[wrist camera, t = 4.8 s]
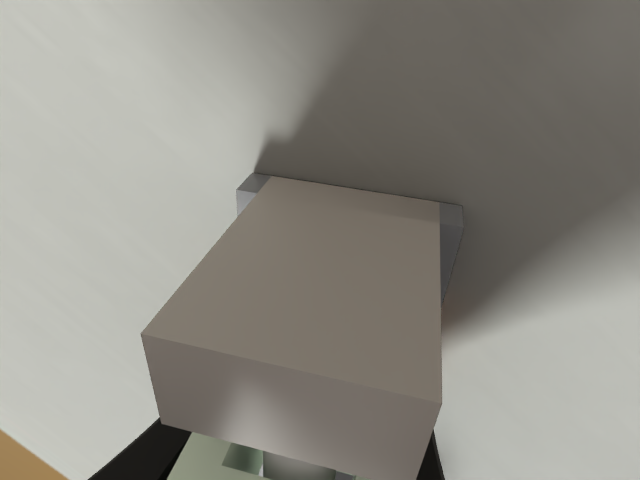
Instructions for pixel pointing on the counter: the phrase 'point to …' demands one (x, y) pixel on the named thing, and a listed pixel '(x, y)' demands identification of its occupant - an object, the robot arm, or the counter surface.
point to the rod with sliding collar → (312, 331)
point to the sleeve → (219, 461)
